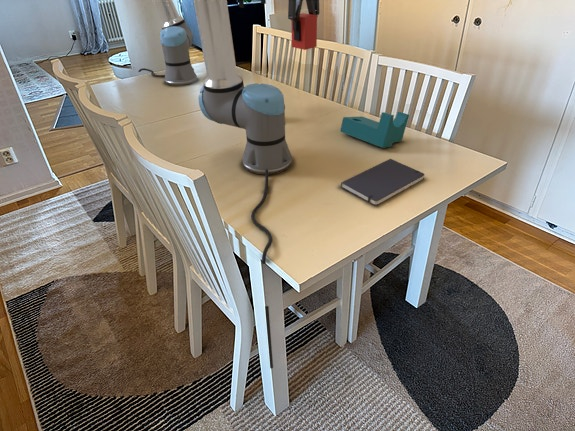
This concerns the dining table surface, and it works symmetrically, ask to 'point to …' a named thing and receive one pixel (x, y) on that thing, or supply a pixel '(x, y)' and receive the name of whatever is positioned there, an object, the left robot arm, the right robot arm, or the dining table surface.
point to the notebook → (382, 181)
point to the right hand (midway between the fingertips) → (304, 38)
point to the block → (306, 32)
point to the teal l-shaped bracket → (376, 128)
